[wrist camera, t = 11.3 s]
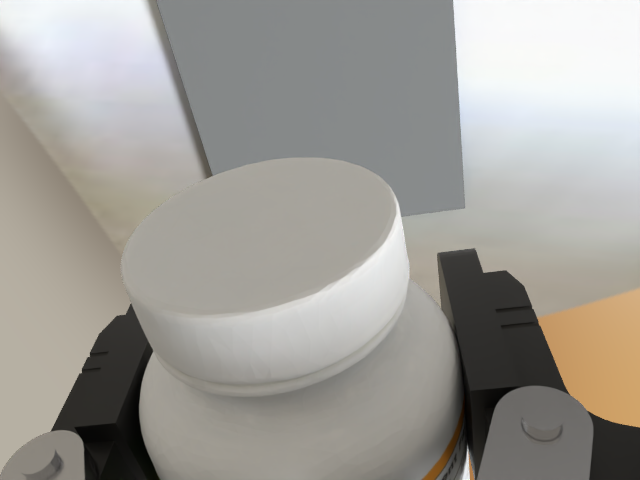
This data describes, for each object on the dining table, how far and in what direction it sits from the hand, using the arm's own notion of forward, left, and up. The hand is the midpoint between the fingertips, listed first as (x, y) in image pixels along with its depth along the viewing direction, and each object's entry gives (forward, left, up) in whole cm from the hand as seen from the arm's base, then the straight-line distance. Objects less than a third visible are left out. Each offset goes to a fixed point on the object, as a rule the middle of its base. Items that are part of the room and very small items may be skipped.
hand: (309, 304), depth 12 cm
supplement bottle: (+5, +3, +2) cm, 7 cm away
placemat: (+2, 0, -19) cm, 19 cm away
